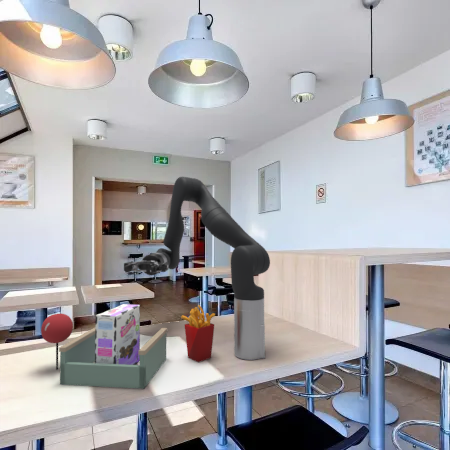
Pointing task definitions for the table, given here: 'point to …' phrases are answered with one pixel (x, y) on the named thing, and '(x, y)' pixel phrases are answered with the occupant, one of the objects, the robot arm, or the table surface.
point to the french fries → (199, 335)
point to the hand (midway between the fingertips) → (139, 269)
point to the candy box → (118, 335)
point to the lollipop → (56, 330)
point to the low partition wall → (109, 373)
